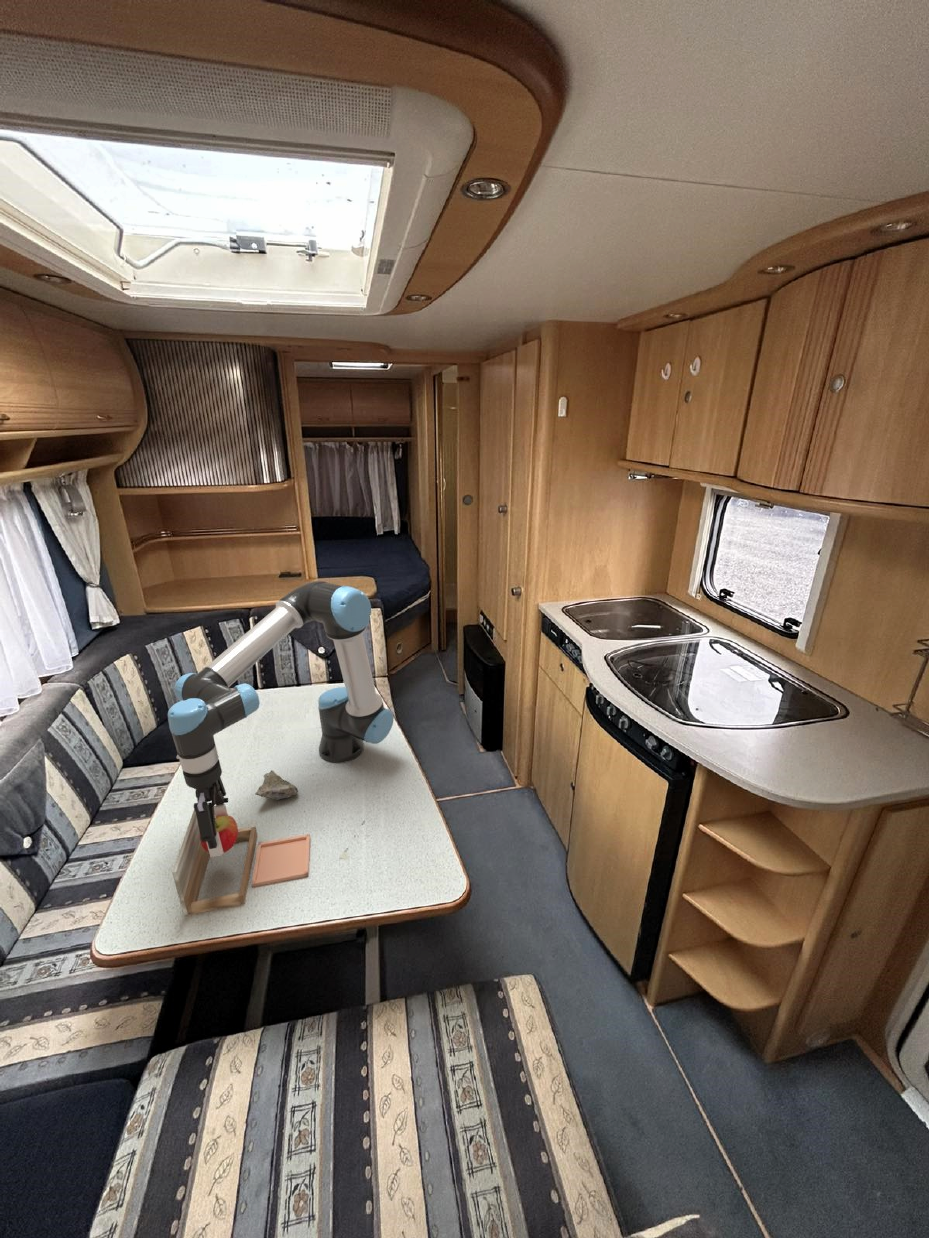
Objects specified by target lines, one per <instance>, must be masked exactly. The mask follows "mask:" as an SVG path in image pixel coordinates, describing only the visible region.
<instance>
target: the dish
mask: <svg viewBox="0 0 929 1238" xmlns="http://www.w3.org/2000/svg"><path fill="white" fill-rule="evenodd" d="M256 848H257V849H256V855H255V860H254V868H253V874H252V877H251V878H252V879H251V888H254V887H259V886H265V885H266V886H267V885H270V884H277V883H281V882H282V883H283V882H287V881H291V880H292V881H293V880H299V879H302V878H303V879H304V878H308V877H309V875H310V874H309V873H310V869H309V868H310V854H311V853H310V852H311V851H310V850H311V835H310V833H308V834H307V833H306V834H301V835H296V836H290V837H286V838H279V839H273V840H269V841H264V842H258V844H257V847H256Z"/></svg>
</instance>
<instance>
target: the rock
mask: <svg viewBox="0 0 929 1238" xmlns="http://www.w3.org/2000/svg"><path fill="white" fill-rule="evenodd" d="M262 777H263V782H262V785H260V786H259V787H258V789H257V791H256V792H255V796H258V797H259V796H260V797H261V798H265V799H271V800H279V801H280V800H281V799H287V798H288V799H289V798H291V797H292V796H295V795H297V794H298V793H299V789H298V787H296V786H295V785H294V784H293V783H291V782H289V781H288V780H284V778H282V777H281V776H280V775H278V774H277V773H276V772H275V771H274V770H272V769H271V770H270V771H269V772H266V773H265V774H264V775H262Z"/></svg>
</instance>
